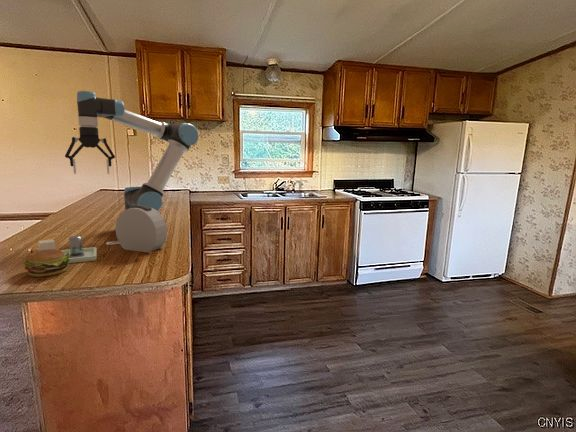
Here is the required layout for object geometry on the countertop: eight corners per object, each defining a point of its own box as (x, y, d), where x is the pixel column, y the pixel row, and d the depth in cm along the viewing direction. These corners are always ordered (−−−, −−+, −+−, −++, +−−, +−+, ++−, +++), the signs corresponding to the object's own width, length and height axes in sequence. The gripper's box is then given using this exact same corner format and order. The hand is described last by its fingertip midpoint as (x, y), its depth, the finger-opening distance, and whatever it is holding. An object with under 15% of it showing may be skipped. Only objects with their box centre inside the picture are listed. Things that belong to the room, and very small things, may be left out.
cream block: (53, 250, 149) (52, 239, 148) (56, 253, 145) (54, 241, 144) (39, 252, 146) (38, 241, 145) (41, 255, 142) (40, 243, 141)
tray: (96, 251, 150) (96, 247, 149) (96, 260, 137) (96, 256, 137) (57, 254, 143) (57, 250, 143) (54, 264, 131) (53, 260, 131)
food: (18, 281, 114) (16, 258, 113) (30, 268, 127) (27, 247, 126) (67, 276, 120) (65, 254, 118) (73, 264, 133) (72, 244, 131)
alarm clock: (167, 249, 156) (166, 205, 152) (157, 253, 149) (155, 208, 145) (128, 244, 162) (125, 202, 158) (116, 248, 155) (113, 204, 151)
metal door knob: (84, 253, 143) (83, 234, 142) (84, 257, 139) (82, 237, 137) (69, 255, 141) (68, 236, 140) (68, 258, 136) (66, 239, 135)
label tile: (120, 241, 165) (120, 240, 165) (121, 243, 162) (121, 242, 162) (106, 242, 163) (106, 242, 163) (106, 244, 159) (106, 244, 159)
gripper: (118, 128, 168) (121, 172, 172) (56, 125, 156) (61, 173, 160) (119, 128, 161) (121, 173, 165) (55, 124, 150) (59, 174, 154)
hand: (92, 173), depth 163 cm, fingers open, 13 cm apart
